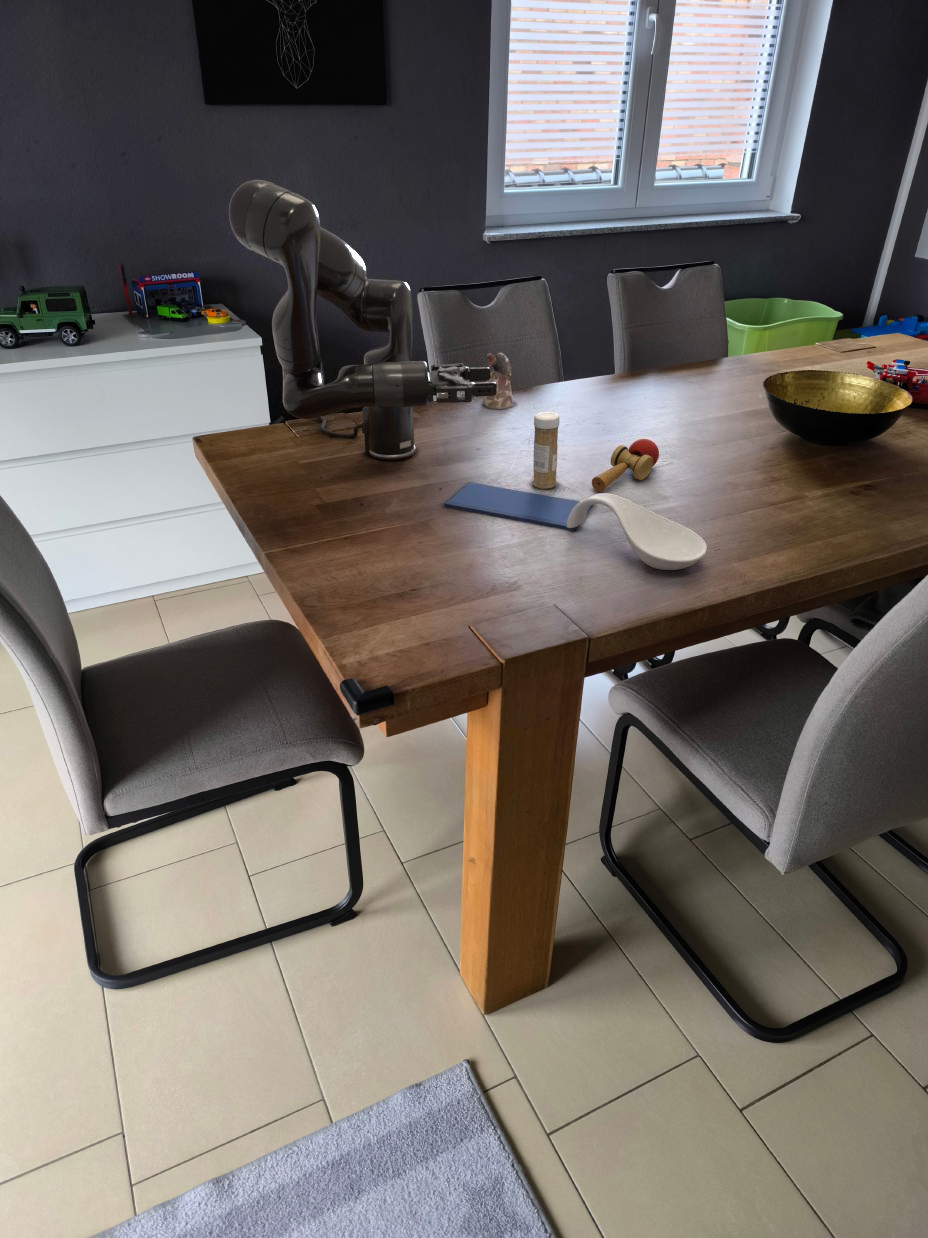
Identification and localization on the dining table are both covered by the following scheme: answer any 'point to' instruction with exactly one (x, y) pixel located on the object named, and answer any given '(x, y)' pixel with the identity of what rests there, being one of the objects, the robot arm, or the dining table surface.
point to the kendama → (629, 463)
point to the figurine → (499, 382)
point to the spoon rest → (647, 533)
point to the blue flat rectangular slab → (514, 505)
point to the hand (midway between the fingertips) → (493, 380)
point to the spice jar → (545, 449)
